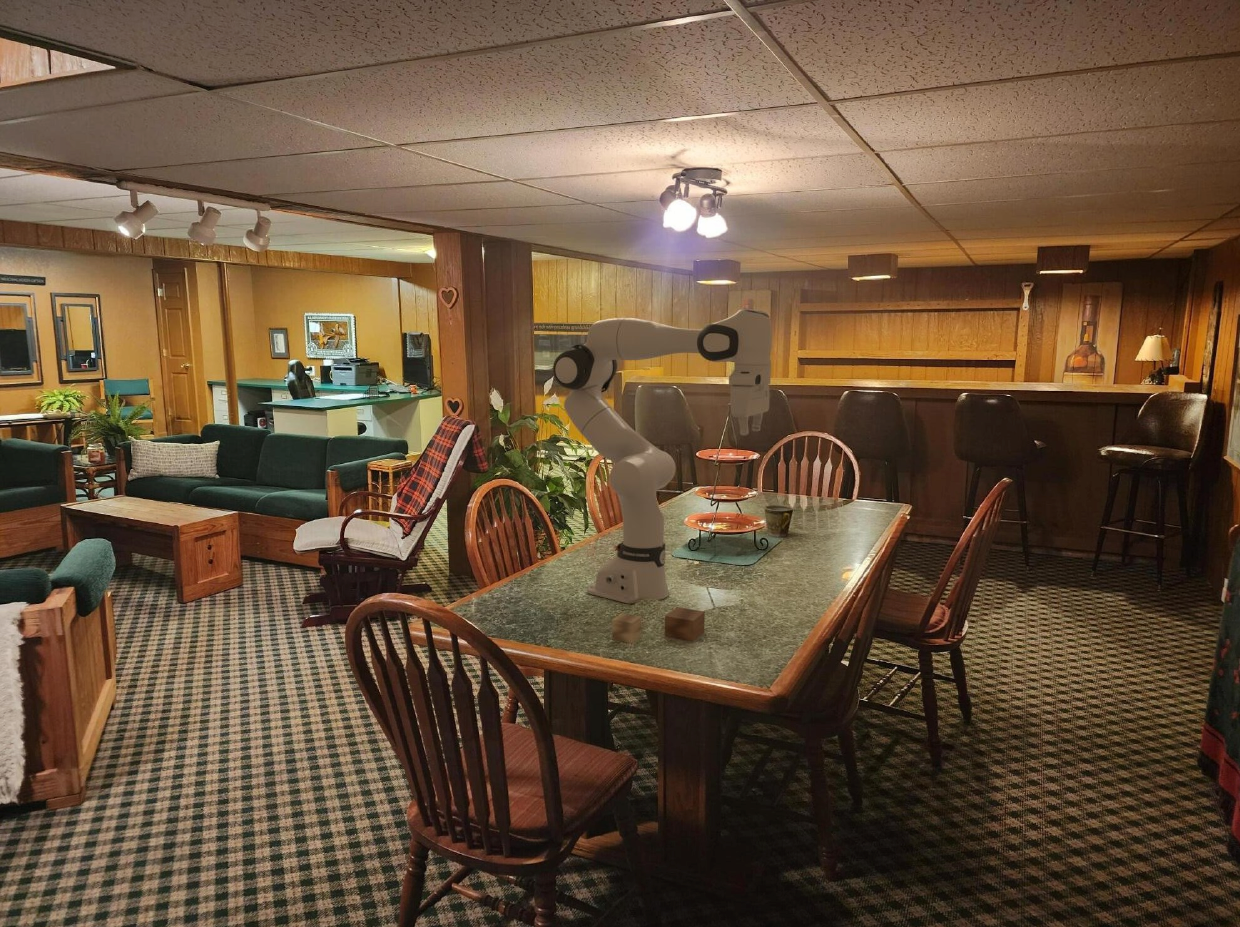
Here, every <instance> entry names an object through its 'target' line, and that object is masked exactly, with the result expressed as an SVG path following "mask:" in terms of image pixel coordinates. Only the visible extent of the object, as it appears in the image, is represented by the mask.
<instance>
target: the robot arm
mask: <svg viewBox="0 0 1240 927" xmlns="http://www.w3.org/2000/svg"><path fill="white" fill-rule="evenodd" d="M772 329H773V328H772V319H771V317H770V315H769V314H768V313H767V312H765V311H762V310H758V309H751V308H740V309H739V310H737V312H736V313H734V314H733V315H731V316H728V317H726V318H725V319H722V320H719V321H716V322H713V323H710V324H707V325H705V326H704V327H703V328H701V329H699V328H698V329H696V328H682V327H681V328H680V327H676V326H671V325H667V324H664V323H663V324H662V323H660V322H657V321H656V322H655V321H652V320H648V319H643V318H638V317H637V318H635V317H613V318H606V319H601V320H597V321H595V322H594V323H592V324H591V326H590V327H589V329H588V331H587V336H586V337H587V338H586V342H585V343H584V344H583V343H576V344H575V345H573V346H572V347H570V348H568V349H566V350H564V351H563V352H561V353H560V354H559V355H558V356H557V357H556V358H555V360H554V362H553V364H552V365H553V366H552V373H553V377H554V380H555V381H556V382H557V384H558V385H559V386H561V387H563V388H565V389H569V390H570V392H569V393H568V394H567V396H566V397H565V400H564V401H563V407H564V411H565V412H566V414H567V416H568V417H569V419H570V421H571V422H572V424H573V425H574V427H575V428H576V429H577V430H578V432H579V433H580V434H581V435H582V436H583V438H585V440H586V441H587V442H588V443H589V444H590V446H591V447H592V448H593V449H594V450H595V451H596V452H597V453H598V454H599V455H600V456H601V457H603V458H605V459H606V460H607V459H608V460H609V461H611V462H612V463H615V464H614V465H613V466H612V468H611V470H610V472H609V483H610V484H609V485H610V486H611V488H612V490H613V491H614V493H615V494H616V495H617V497H618V501H619V504H620V508H621V515H622V540H621V542H620V543H618V544H617V545H616V546H614V548H615V549H614V552H616V551H617V552H616V555H615V556H614V557H613V558H611V559H610V560H609V561H607V562H606V563H603V565H602V566H601V567H600V568H598V571H597V572H596V573H597V574H596V578H595V582H593V583H591V584H589V585H588V587H587V594H589V595H593V596H596V597H601V598H605V599H609V600H614V601H617V602H620V603H621V602H622V603H625V604H637V603H638V602H640V601H641V600H643V599H647V600H648V599H649V600H654V601H659V600H663V599H666V598H667V597H668V596H669V595H670V592H669V589H668V583H667V578H666V571H665V564H666V555H667V552H666V543H665V541H664V540H665V531H664V530H665V515H664V513H663V511H661V509H660V507H659V502H658V498H657V492H658V490H660V489H663V488H665V487H666V486H667V485H668V484H669V483H670V482H671V481H672V480H673V479H674V477H675V475H676V468H677V467H676V466H677V465H676V462H675V461H674V458H673V457H672V456H671V455H670V454H669V453H668V452H666V451H663V450H661V449H659V448H658V447H656V446H655V445H654V444H653V443H651V442H650V441H648V440H647V439H646V438H645V437H643V436H642V435H640V434H639V433H638V432H637V431H636V430H634V429H633V428H632V427H631V426H630V425H629V424H628V423H627V422H626V421H625V420H624V418H622V417H621V415H619V414H618V411H617V412H616V410H615V409H614V408H613V407H612V406H611V405H610V404H609V403H608V402H607V401H606V399H605V398H604V396H603V395H602V394H603V393H605V392H606V391H607V390H608V389H609V386H610V384H611V382H612V380H613V379H614V377H615V376H616V373H617V371H618V370H617V369H618V362H617V360H619V361H642V360H649V359H654V358H658V357H659V358H660V357H663V356H664V357H665V356H667V355H668V356H669V355H672V354H673V355H674V354H675V355H676V354H685V353H686V354H700V356H701V357H702V358H704V359H705V360H707V361H709V362H712V363H727V362H729V363H730V362H731V363H734V364H733V365H734V367H733V370H732V373H731V374H730V375H729V376H728V385H729V386H730V390H729V391H730V395H729V401H730V404H729V405H730V407H729V408H730V414H731V417H732V418H737V422H738V425H739V435H741V436H748V435H749V433H750V431H749V430H750V429H749V428H750V427H749V424H748V423H749V422H748V421H749V417H753V419H752V423H751V431H752V432H759V431H761V424H762V421H763V418H764V417H763V416H764V413H767V412H768V411H769V408H770V384H771V379H772V378H771V375H772V374H771V373H772V371H771V370H772V361H771V355H770V354H771V352H772V351H771V350H772V346H773V330H772Z"/></svg>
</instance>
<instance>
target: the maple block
mask: <svg viewBox="0 0 1240 927" xmlns="http://www.w3.org/2000/svg"><path fill="white" fill-rule="evenodd" d="M642 618H643V617H642V615H641V616H640V615H636V614H631V613H630V614H629V613H624V612H621V613H620V614H618V615H617V616H616V617H614V618H612V620H611V625H612V626H611V631H612V632H611V640H613V641H617V642H622V643H627V644H633V643H634V642H635V641H637V640H638V639H640V638H641V637H642V620H643V619H642Z"/></svg>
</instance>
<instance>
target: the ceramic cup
mask: <svg viewBox="0 0 1240 927" xmlns="http://www.w3.org/2000/svg"><path fill="white" fill-rule="evenodd" d="M793 514H794V507H792V506H789V505H783V504H772V505H771V504H770V505H766V506H764V515H765V516H764V517H765V520H766V526H767V527H766V528H767V529H766V530H767V534H768V536H770V537H772V538H786V537H787V536H788V535H789V531H790V530H789V529H790V526H791V525H790V524H791V521H792V517H793Z"/></svg>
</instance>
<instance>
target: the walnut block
mask: <svg viewBox="0 0 1240 927" xmlns="http://www.w3.org/2000/svg"><path fill="white" fill-rule="evenodd" d="M705 613H706V611H703V610H699V609H691V608H685V607H679V606H676V607H675V608H674V609H672V610H671V611H670V612H668V613H667V614H666V615H664V635H665V637H669V638H674V639H680V640H685V641H690V642H694V641H695V640H696V639H697V638H698V637H699V636H700V635H702V634H703V633H704V631H705V618H706V617H705V615H706V614H705ZM674 639H673V640H674ZM685 641H684V642H685ZM690 642H689V643H690Z"/></svg>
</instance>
